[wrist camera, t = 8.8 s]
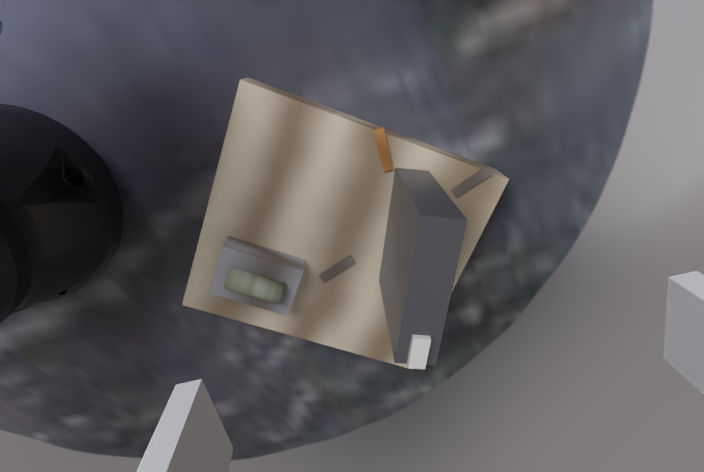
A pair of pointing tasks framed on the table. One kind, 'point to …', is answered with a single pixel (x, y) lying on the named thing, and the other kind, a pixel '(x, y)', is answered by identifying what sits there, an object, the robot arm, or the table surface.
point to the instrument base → (315, 219)
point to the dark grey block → (419, 265)
